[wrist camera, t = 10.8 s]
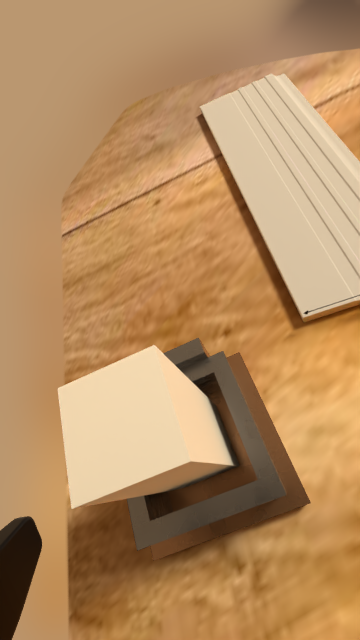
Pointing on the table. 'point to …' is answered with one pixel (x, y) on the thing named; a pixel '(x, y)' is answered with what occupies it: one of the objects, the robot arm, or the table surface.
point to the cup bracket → (228, 487)
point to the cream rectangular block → (139, 431)
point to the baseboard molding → (294, 189)
